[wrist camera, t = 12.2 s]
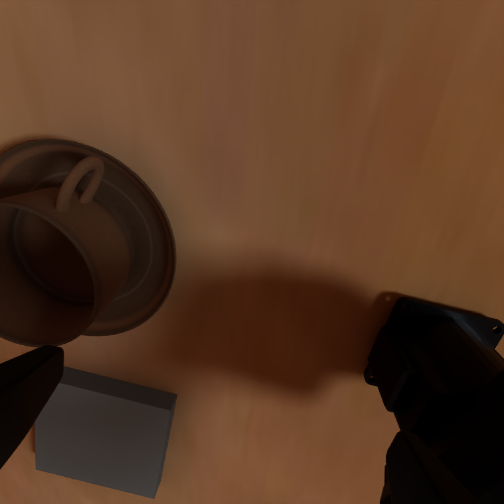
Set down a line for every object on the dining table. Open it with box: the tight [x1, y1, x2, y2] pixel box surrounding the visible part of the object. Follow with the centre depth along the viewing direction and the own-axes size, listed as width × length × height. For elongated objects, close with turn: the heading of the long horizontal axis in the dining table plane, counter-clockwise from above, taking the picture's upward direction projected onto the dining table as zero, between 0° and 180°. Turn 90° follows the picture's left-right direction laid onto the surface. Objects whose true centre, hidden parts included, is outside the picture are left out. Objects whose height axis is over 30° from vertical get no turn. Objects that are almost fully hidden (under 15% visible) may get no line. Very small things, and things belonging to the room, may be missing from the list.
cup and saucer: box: [0, 139, 176, 347], centre depth 18 cm, size 12×12×6 cm
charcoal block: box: [35, 367, 177, 499], centre depth 26 cm, size 10×10×2 cm
